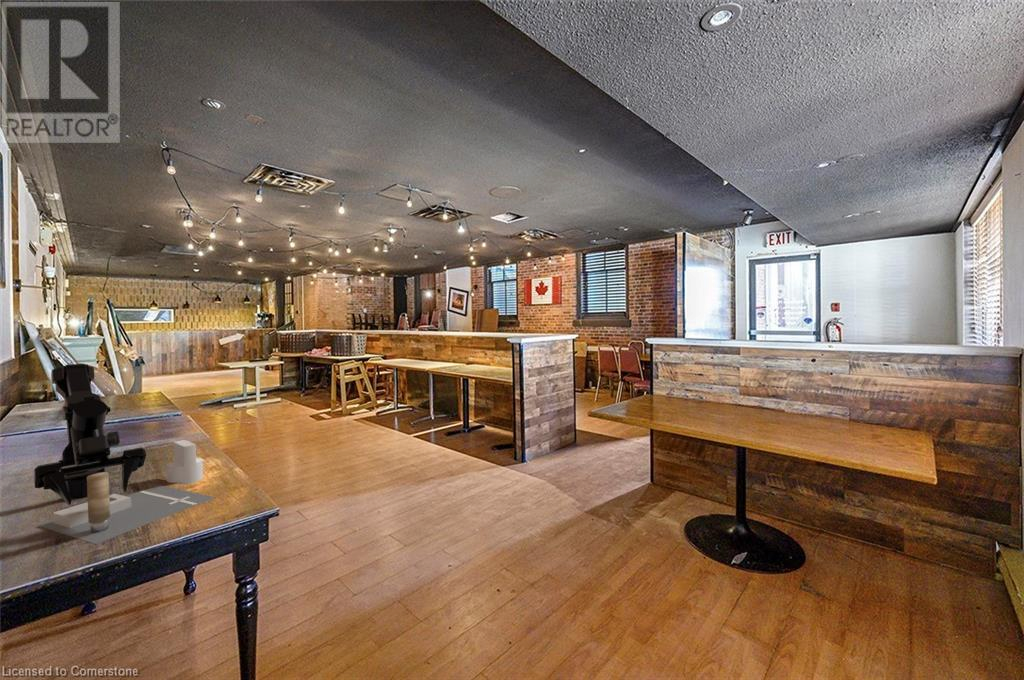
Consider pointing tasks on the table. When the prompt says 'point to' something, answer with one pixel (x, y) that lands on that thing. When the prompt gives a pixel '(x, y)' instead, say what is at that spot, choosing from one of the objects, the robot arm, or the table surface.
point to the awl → (98, 501)
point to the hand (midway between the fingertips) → (98, 497)
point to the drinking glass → (184, 464)
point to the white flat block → (80, 512)
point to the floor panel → (135, 513)
